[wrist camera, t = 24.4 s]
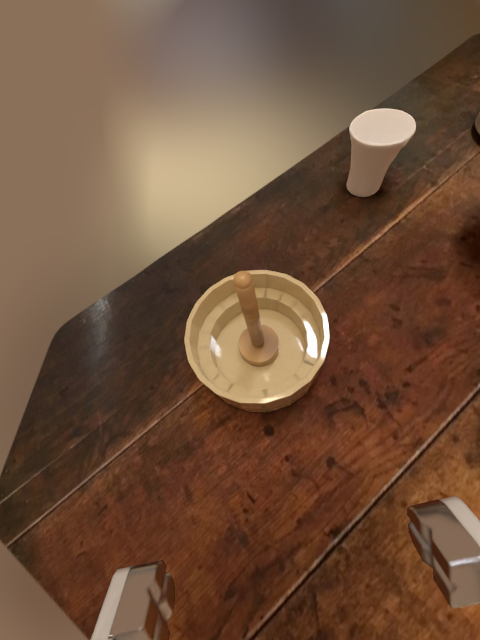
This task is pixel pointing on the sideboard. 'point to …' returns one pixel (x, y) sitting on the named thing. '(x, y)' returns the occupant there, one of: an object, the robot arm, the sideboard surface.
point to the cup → (376, 147)
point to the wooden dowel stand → (254, 326)
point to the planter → (477, 123)
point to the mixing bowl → (275, 312)
